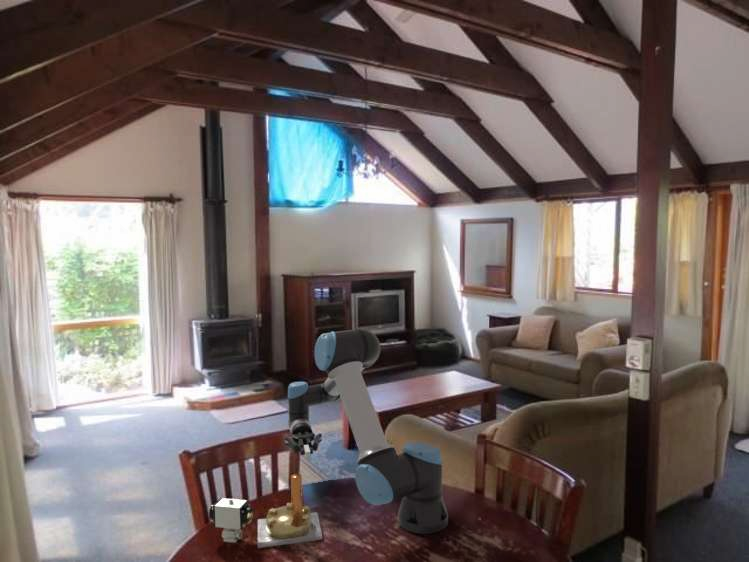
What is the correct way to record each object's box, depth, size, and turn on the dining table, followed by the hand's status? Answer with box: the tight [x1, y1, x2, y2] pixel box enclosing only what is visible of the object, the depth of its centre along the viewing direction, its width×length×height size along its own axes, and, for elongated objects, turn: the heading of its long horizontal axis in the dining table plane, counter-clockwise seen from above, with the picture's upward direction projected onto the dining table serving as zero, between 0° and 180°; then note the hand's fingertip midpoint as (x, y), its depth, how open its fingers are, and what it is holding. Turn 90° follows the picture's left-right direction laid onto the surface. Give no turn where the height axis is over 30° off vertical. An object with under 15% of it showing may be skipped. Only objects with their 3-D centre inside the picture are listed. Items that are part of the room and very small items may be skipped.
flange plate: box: [257, 511, 323, 549], centre depth 153 cm, size 18×13×2 cm
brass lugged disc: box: [266, 473, 312, 538], centre depth 152 cm, size 14×13×17 cm
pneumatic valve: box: [208, 497, 255, 544], centre depth 149 cm, size 6×12×12 cm, turn 78°
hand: (308, 456), depth 164 cm, fingers closed
